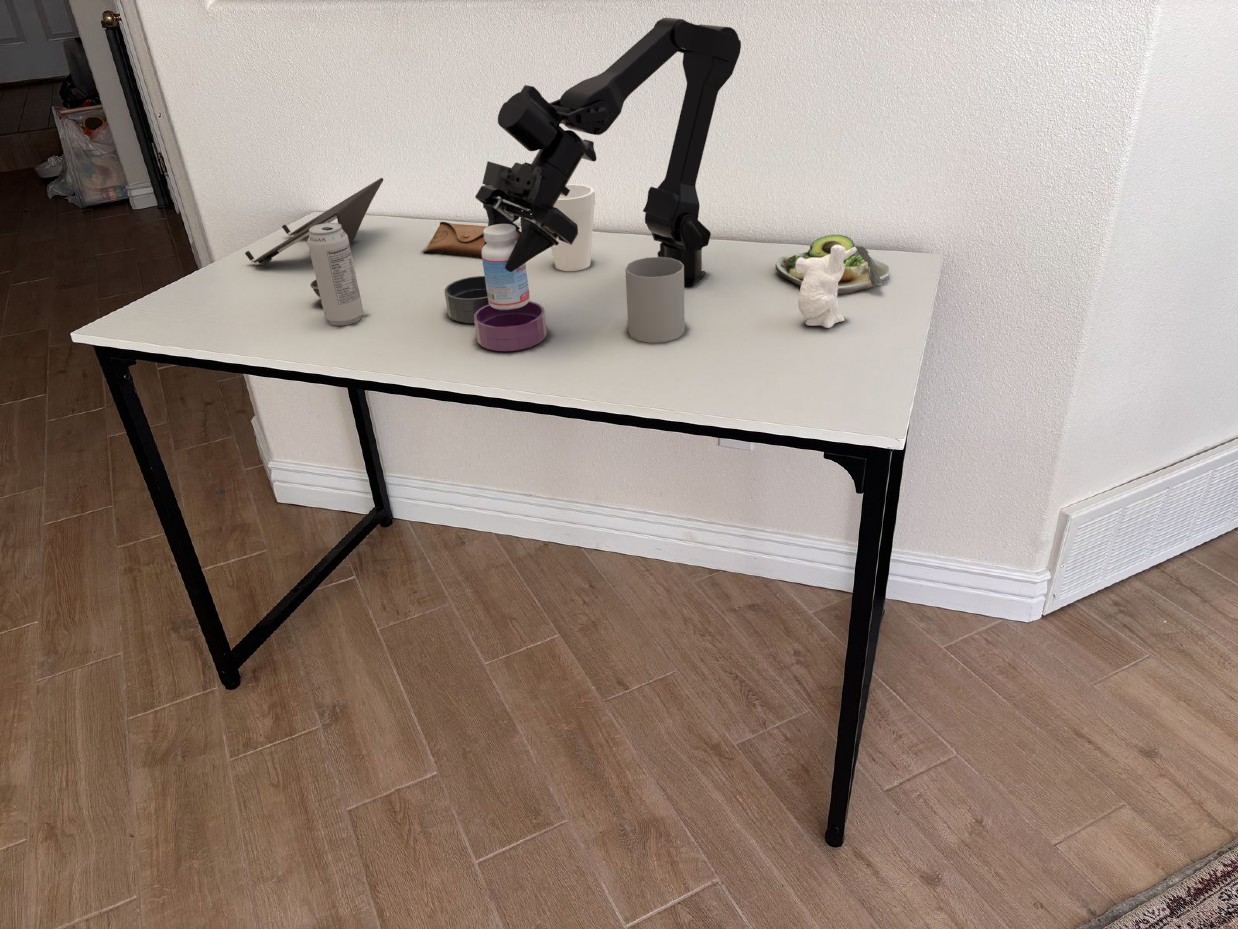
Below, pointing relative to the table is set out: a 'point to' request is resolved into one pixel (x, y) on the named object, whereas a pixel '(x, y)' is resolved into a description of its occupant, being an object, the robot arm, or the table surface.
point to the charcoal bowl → (466, 298)
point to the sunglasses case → (459, 239)
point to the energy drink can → (335, 273)
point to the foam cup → (582, 213)
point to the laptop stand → (344, 212)
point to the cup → (655, 299)
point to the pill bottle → (503, 269)
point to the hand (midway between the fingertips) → (495, 264)
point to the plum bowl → (510, 327)
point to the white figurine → (822, 286)
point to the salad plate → (857, 266)
